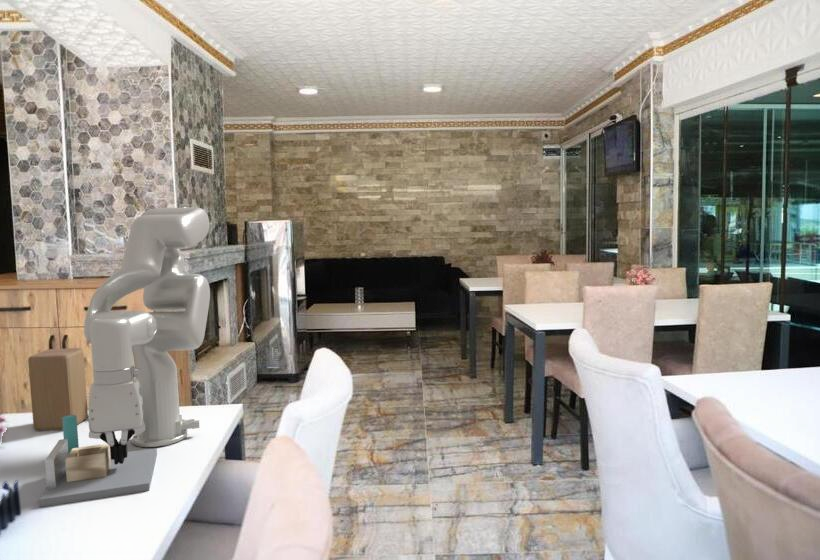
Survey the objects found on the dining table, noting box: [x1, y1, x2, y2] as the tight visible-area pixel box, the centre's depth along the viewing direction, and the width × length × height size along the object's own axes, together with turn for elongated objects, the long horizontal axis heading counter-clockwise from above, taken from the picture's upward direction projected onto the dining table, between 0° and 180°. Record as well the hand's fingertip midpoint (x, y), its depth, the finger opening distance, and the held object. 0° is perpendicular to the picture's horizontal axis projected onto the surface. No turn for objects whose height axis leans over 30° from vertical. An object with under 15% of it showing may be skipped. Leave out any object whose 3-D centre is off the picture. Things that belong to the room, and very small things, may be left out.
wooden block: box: [27, 347, 89, 431], centre depth 158 cm, size 10×10×20 cm
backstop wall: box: [44, 438, 69, 490], centre depth 120 cm, size 2×12×6 cm, turn 19°
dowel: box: [62, 415, 80, 454], centre depth 133 cm, size 3×3×10 cm
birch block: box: [65, 443, 111, 482], centre depth 122 cm, size 7×7×4 cm
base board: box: [38, 447, 158, 508], centre depth 123 cm, size 19×20×2 cm
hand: (119, 461), depth 124 cm, fingers closed
